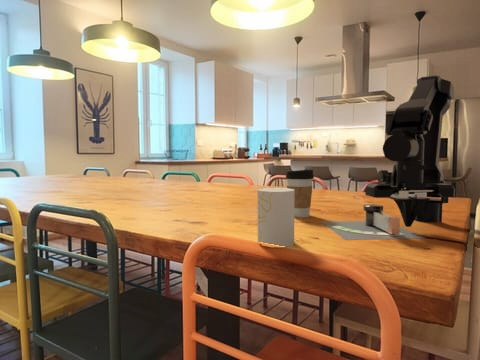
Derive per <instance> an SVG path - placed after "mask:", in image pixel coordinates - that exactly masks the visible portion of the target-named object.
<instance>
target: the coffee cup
mask: <svg viewBox="0 0 480 360" xmlns="http://www.w3.org/2000/svg"><path fill="white" fill-rule="evenodd" d="M314 177H315V176H314V169H301V170H297V169H296V170H286V173H285V179H286V183H287V184H286V188H289V189H294V218H308V217H310V214H311V213H310V212H311V205H312V196H313V195H312V194H313V179H315V178H314Z"/></svg>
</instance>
